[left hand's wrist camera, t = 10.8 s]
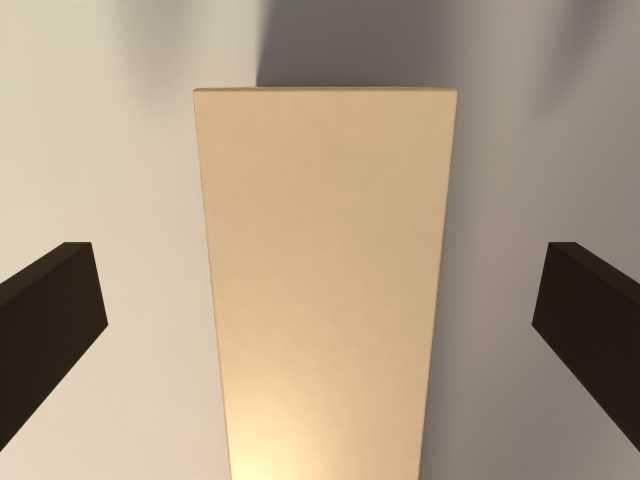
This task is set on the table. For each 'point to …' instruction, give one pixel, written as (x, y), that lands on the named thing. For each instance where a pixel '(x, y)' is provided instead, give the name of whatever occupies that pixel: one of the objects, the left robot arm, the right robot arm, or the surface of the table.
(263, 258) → the beam
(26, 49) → the table surface
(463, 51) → the table surface
